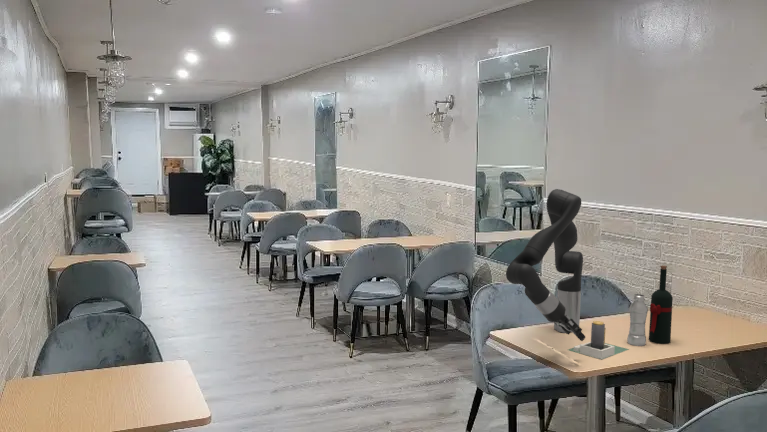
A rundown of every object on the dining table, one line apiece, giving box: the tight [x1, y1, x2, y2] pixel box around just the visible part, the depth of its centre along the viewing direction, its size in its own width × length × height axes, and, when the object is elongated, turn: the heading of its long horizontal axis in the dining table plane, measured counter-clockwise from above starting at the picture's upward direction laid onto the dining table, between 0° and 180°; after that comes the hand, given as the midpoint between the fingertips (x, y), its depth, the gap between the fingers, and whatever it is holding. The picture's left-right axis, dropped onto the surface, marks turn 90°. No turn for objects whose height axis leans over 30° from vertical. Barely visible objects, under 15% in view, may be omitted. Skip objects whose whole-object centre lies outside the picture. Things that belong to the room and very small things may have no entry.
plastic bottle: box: [627, 293, 649, 347], centre depth 243 cm, size 6×7×20 cm
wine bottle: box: [648, 265, 674, 345], centre depth 250 cm, size 8×10×30 cm
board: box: [567, 341, 630, 360], centre depth 236 cm, size 14×19×4 cm
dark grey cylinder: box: [590, 320, 606, 350], centre depth 230 cm, size 5×4×12 cm
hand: (576, 335), depth 227 cm, fingers open, 8 cm apart
